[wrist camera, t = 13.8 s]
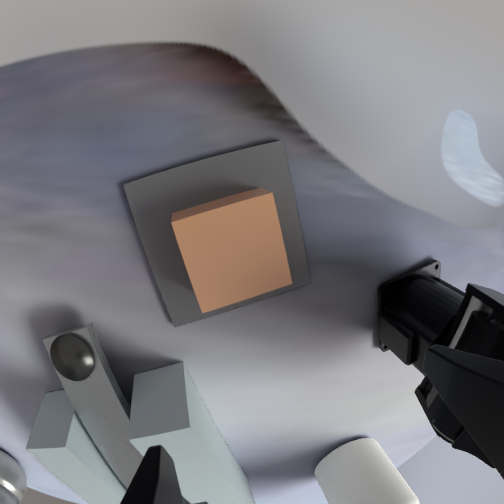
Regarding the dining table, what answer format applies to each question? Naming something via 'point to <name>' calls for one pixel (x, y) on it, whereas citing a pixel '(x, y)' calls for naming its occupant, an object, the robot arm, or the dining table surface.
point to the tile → (232, 248)
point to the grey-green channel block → (143, 442)
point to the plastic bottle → (11, 480)
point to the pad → (202, 191)
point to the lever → (95, 396)
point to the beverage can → (362, 476)
